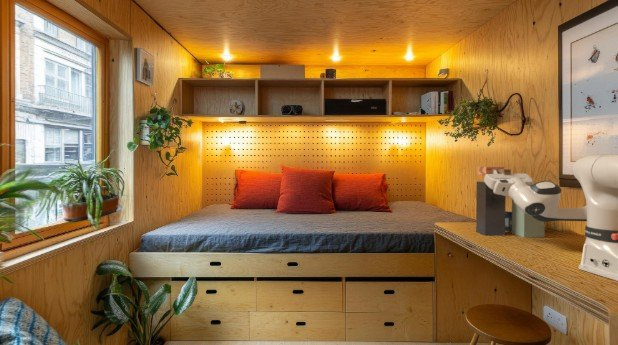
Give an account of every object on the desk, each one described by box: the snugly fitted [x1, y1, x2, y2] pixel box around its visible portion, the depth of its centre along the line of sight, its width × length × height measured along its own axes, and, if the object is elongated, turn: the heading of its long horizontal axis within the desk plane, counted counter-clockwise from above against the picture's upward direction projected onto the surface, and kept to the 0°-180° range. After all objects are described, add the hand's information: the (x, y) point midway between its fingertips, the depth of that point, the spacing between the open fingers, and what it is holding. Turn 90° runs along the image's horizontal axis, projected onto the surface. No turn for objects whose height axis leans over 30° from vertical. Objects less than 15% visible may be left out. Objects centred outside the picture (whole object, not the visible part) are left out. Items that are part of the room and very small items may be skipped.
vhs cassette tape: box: [505, 210, 512, 233], centre depth 186 cm, size 18×3×10 cm, turn 45°
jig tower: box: [475, 180, 507, 237], centre depth 177 cm, size 8×10×26 cm
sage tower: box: [511, 199, 546, 239], centre depth 172 cm, size 10×10×24 cm
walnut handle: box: [477, 165, 512, 176], centre depth 171 cm, size 18×9×4 cm, turn 2°
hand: (499, 171), depth 169 cm, fingers closed on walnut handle, 3 cm apart
